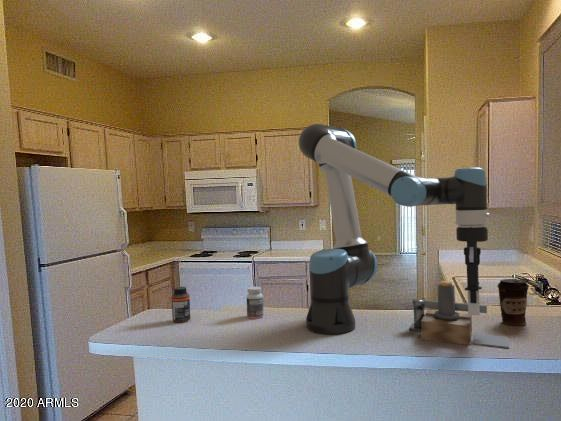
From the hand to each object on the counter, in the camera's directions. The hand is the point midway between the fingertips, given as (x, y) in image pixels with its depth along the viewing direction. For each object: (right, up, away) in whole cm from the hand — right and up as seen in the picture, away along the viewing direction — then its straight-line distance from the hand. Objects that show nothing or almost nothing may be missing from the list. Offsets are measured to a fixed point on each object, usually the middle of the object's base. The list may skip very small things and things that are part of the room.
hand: (473, 314), depth 107 cm
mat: (+4, -7, 0) cm, 8 cm away
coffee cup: (+19, -7, +14) cm, 25 cm away
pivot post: (-10, -7, +12) cm, 18 cm away
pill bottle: (-60, -9, +31) cm, 68 cm away
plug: (-5, -7, +6) cm, 10 cm away
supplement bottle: (-85, -10, +28) cm, 90 cm away
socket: (-5, -7, +6) cm, 10 cm away
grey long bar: (-3, -1, +8) cm, 9 cm away
